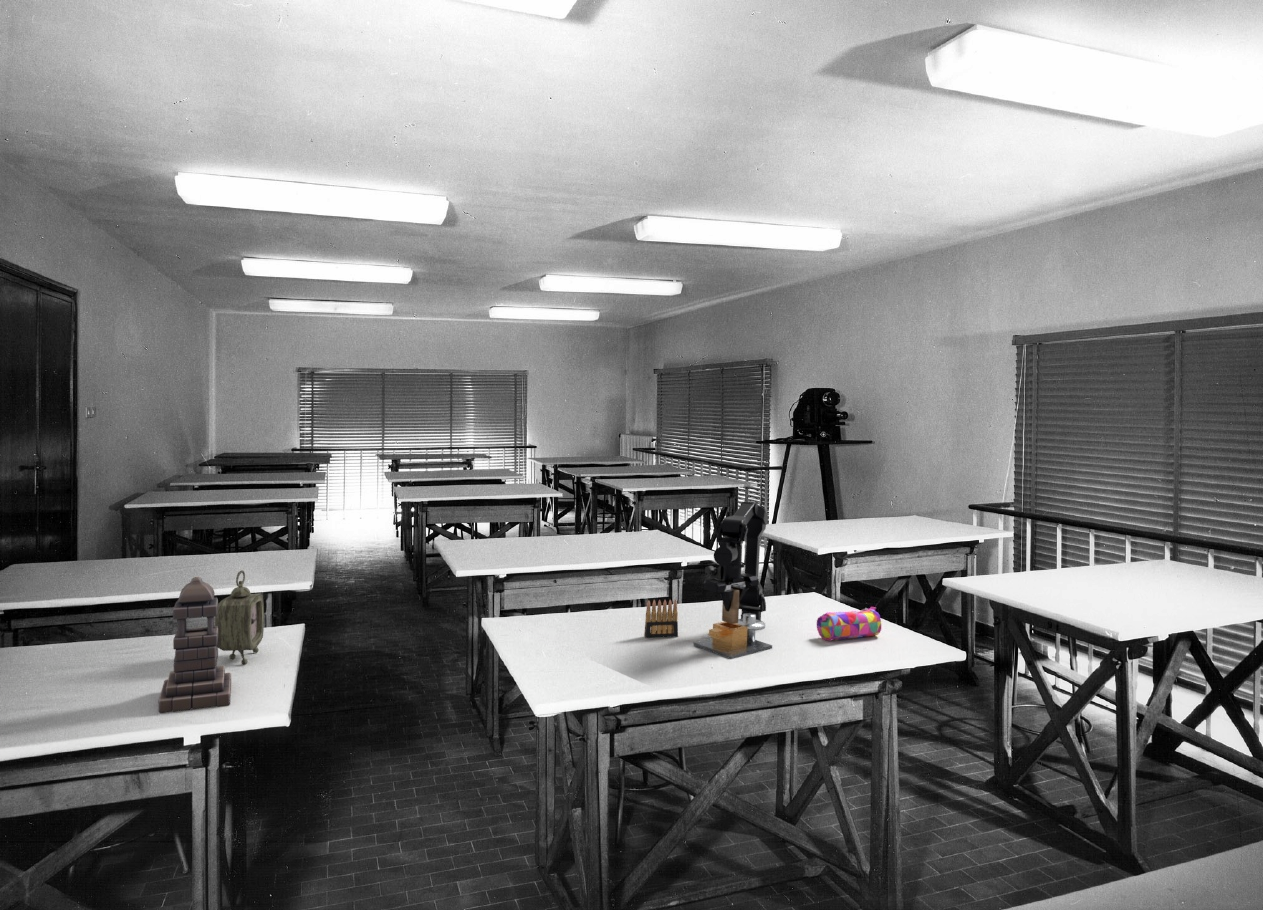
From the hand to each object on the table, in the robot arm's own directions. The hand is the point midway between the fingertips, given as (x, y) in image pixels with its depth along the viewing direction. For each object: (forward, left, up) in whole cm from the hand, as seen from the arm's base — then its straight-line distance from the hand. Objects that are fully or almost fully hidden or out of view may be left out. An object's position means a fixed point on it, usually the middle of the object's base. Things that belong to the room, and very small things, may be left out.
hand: (730, 610), depth 252 cm
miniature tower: (+139, -45, -12) cm, 146 cm away
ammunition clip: (+10, -21, -12) cm, 26 cm away
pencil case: (-41, +14, -12) cm, 45 cm away
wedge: (0, 0, -4) cm, 4 cm away
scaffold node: (-3, 0, -12) cm, 12 cm away
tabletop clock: (+123, -71, -12) cm, 142 cm away
